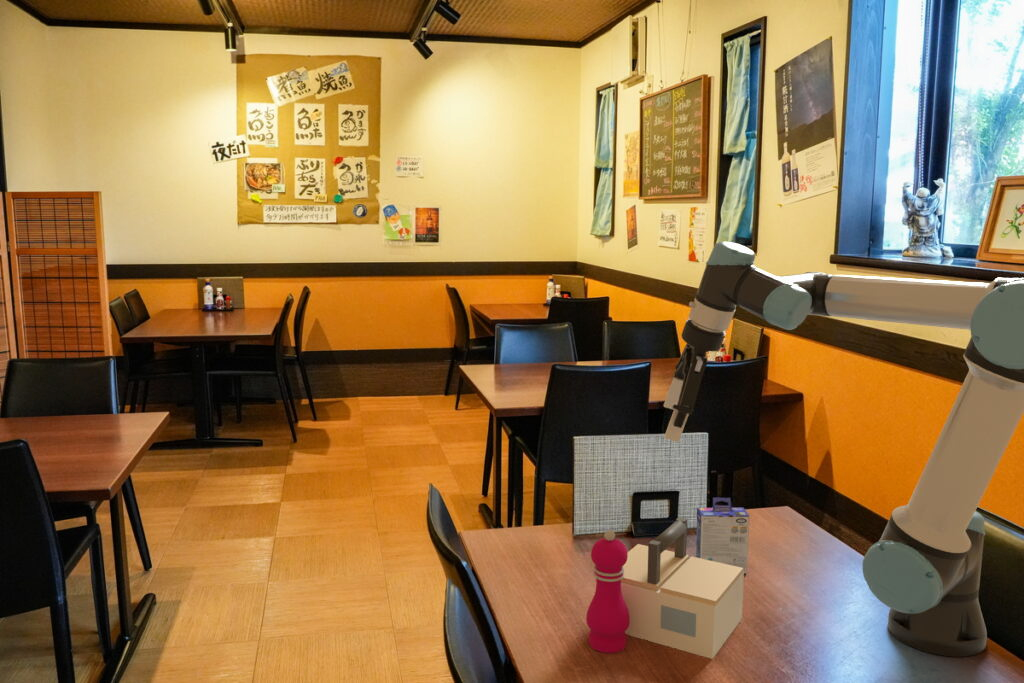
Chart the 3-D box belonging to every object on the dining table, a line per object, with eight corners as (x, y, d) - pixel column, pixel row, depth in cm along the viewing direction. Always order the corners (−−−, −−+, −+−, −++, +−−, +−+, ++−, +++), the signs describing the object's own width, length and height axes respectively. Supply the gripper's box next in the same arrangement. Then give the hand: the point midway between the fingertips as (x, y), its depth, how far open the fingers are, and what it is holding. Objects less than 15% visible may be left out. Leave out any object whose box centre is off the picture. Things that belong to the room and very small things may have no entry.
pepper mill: (601, 629, 147) (603, 519, 144) (637, 642, 143) (640, 529, 140) (577, 645, 142) (579, 531, 139) (614, 659, 137) (616, 542, 134)
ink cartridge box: (741, 563, 175) (745, 496, 172) (748, 574, 169) (752, 505, 167) (693, 562, 175) (696, 495, 173) (699, 574, 169) (701, 504, 167)
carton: (741, 618, 151) (744, 566, 149) (712, 659, 137) (714, 602, 136) (637, 592, 161) (639, 543, 160) (600, 627, 148) (601, 574, 146)
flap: (688, 559, 154) (690, 518, 153) (657, 590, 142) (658, 546, 140) (637, 547, 159) (638, 508, 158) (603, 577, 147) (604, 534, 146)
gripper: (685, 297, 167) (652, 390, 175) (689, 343, 144) (651, 447, 152) (721, 308, 167) (687, 401, 175) (732, 355, 144) (692, 459, 152)
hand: (670, 423), depth 164 cm, fingers open, 13 cm apart
